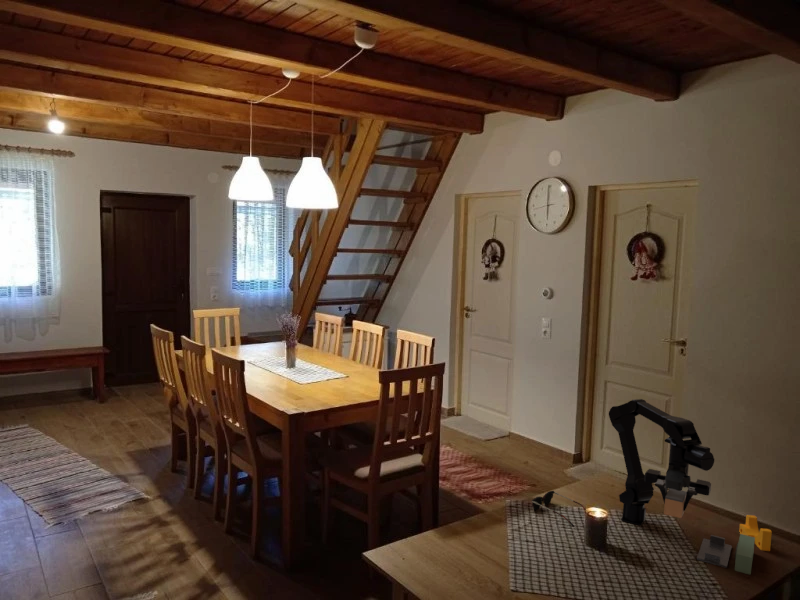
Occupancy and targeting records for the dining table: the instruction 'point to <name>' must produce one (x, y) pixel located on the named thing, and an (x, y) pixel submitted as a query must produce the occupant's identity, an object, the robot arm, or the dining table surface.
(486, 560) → the dining table surface
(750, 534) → the pipe clamp
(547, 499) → the sunglasses
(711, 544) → the side mount
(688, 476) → the robot arm
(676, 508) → the tan and grey block
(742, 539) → the green long block
